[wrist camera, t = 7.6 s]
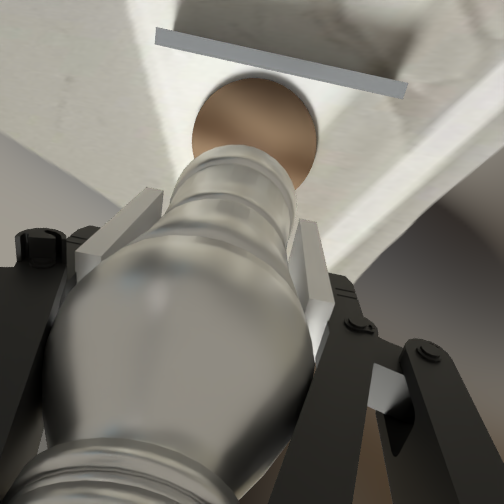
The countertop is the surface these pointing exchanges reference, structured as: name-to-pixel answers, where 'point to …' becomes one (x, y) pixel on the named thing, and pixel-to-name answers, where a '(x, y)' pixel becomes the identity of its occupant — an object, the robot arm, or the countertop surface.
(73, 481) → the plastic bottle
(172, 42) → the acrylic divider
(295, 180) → the walnut coaster
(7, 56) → the countertop surface
